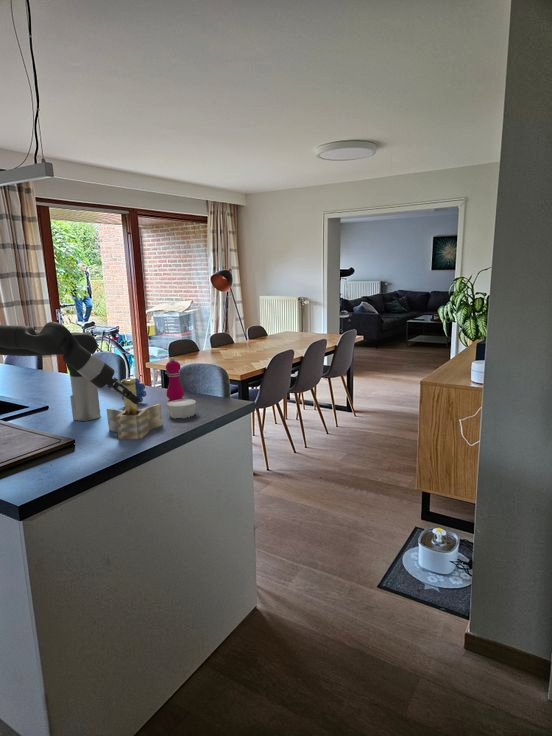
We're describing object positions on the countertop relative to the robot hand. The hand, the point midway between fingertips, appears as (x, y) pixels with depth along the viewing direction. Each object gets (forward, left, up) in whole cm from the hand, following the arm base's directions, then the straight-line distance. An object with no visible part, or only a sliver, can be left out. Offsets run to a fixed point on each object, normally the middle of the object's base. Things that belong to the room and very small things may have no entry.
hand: (136, 400), depth 161 cm
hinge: (-4, +2, -12) cm, 13 cm away
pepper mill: (+3, +39, -12) cm, 41 cm away
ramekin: (+10, +22, -12) cm, 27 cm away
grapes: (-15, +39, -12) cm, 43 cm away
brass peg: (-2, -1, -6) cm, 7 cm away
